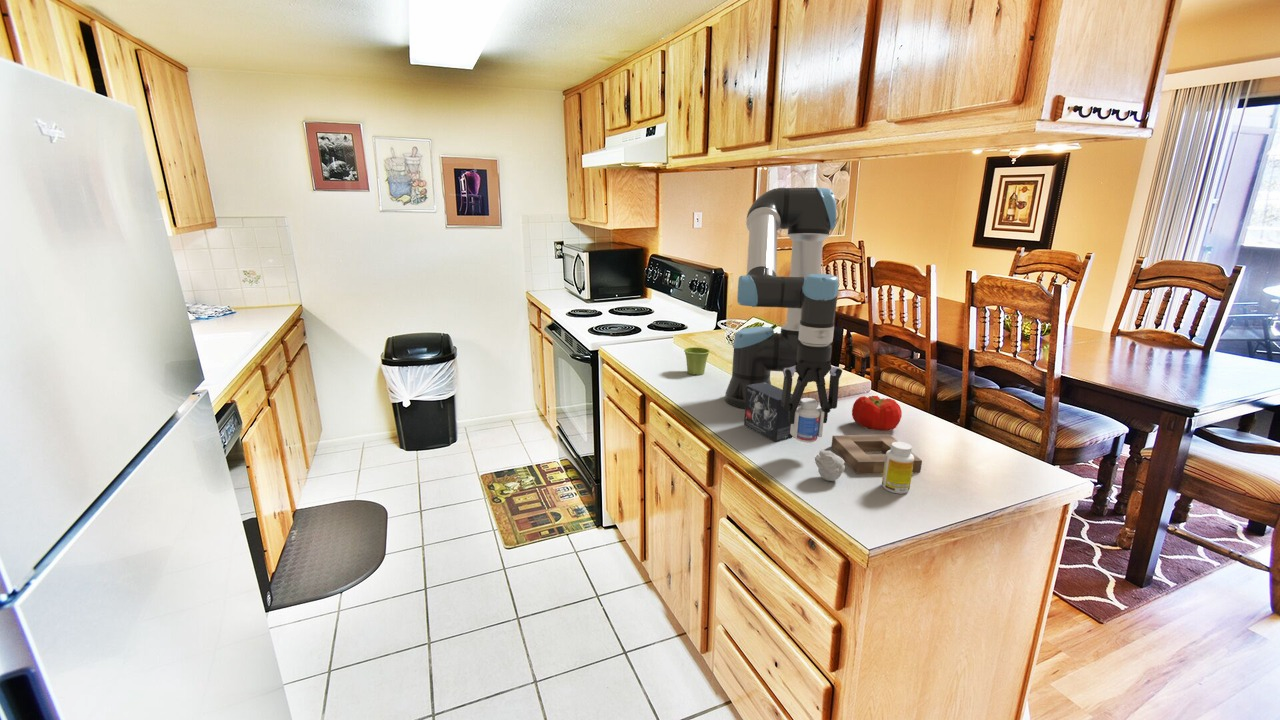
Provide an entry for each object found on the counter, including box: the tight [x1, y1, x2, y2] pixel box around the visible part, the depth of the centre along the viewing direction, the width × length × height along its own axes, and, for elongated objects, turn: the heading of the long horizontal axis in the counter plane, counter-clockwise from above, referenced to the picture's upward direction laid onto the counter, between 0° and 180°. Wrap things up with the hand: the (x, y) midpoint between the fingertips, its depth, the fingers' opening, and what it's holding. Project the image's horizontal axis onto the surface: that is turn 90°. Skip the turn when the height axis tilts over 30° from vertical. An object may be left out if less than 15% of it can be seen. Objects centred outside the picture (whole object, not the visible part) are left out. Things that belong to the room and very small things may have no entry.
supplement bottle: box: [881, 441, 914, 495], centre depth 118 cm, size 6×6×10 cm
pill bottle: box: [794, 397, 820, 444], centre depth 131 cm, size 6×5×10 cm
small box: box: [743, 382, 793, 443], centre depth 148 cm, size 13×7×12 cm, turn 28°
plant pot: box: [683, 346, 711, 376], centre depth 200 cm, size 9×9×9 cm
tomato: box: [851, 395, 903, 432], centre depth 152 cm, size 13×12×8 cm
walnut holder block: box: [830, 434, 923, 475], centre depth 133 cm, size 15×15×3 cm
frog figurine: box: [814, 449, 846, 482], centre depth 122 cm, size 6×7×7 cm
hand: (805, 435), depth 132 cm, fingers closed on pill bottle, 5 cm apart
